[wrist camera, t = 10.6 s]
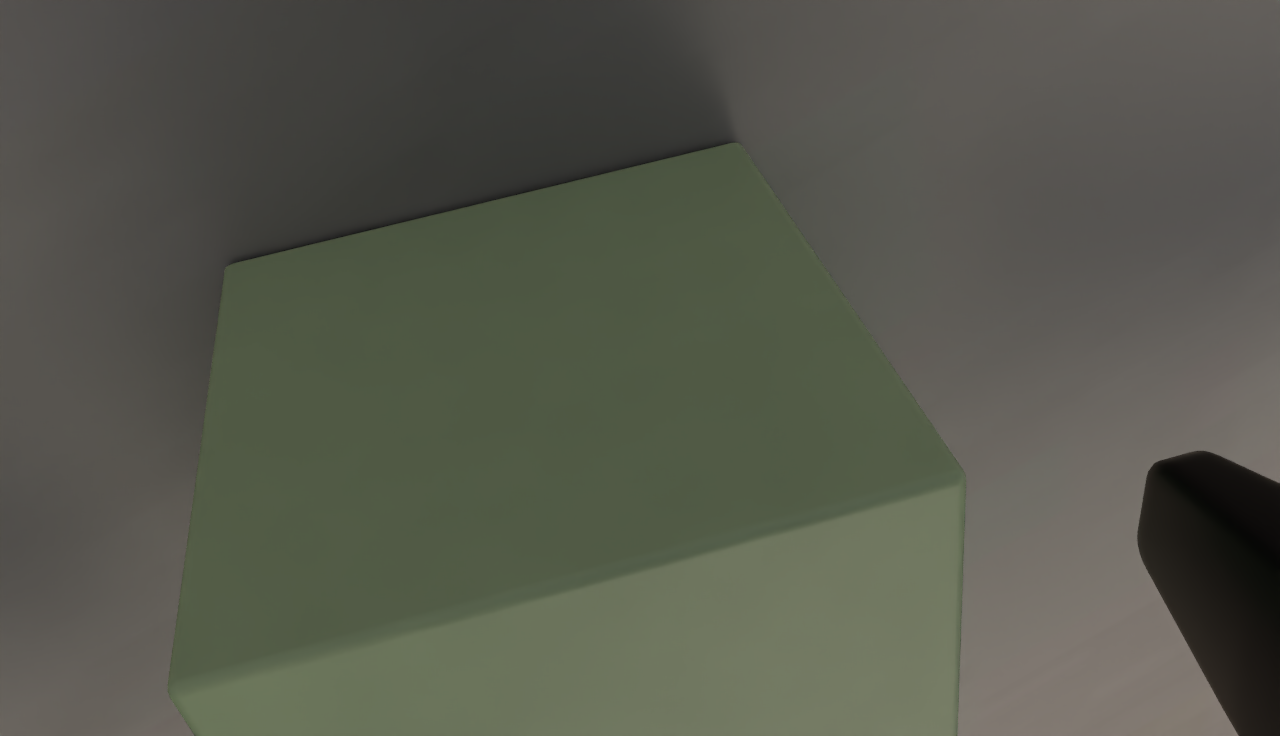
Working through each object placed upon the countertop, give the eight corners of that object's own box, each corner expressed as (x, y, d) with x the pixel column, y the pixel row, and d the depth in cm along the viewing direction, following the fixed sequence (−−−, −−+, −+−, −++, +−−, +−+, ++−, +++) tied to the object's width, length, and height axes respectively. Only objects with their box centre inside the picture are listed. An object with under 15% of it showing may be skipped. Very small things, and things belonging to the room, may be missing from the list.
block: (221, 262, 10) (160, 694, 6) (740, 136, 10) (971, 474, 6) (377, 613, 12) (397, 1056, 9) (779, 505, 13) (956, 885, 9)
